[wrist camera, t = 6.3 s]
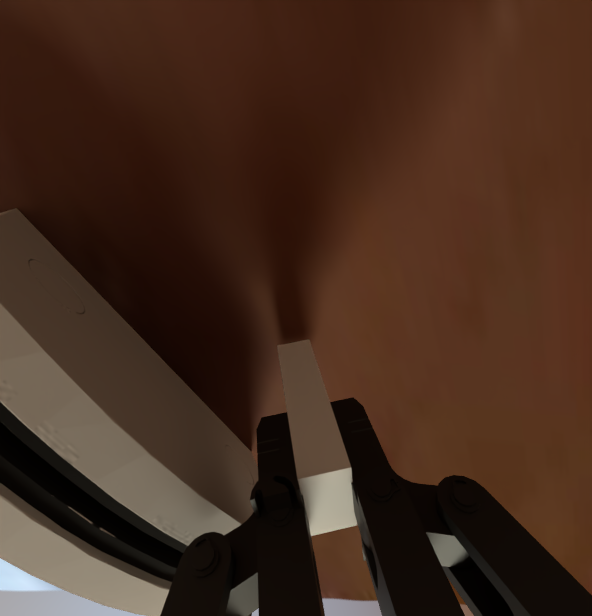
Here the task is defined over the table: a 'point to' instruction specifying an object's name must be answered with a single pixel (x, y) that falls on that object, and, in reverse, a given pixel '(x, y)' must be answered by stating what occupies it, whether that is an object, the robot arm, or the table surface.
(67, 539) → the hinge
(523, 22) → the table surface
